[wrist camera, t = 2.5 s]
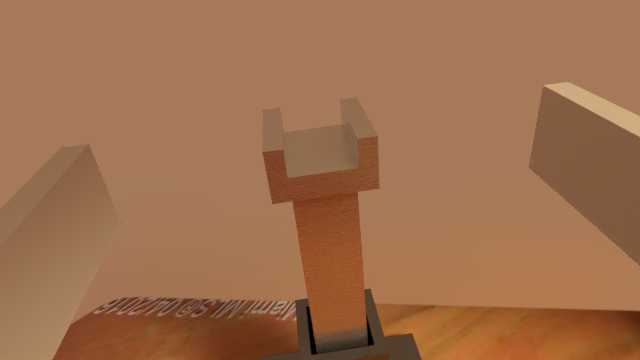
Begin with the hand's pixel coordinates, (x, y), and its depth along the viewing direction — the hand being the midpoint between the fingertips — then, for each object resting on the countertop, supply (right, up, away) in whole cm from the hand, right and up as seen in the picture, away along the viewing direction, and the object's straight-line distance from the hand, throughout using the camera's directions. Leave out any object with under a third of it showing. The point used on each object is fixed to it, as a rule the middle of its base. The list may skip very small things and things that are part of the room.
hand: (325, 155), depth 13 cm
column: (+2, -22, +24) cm, 33 cm away
